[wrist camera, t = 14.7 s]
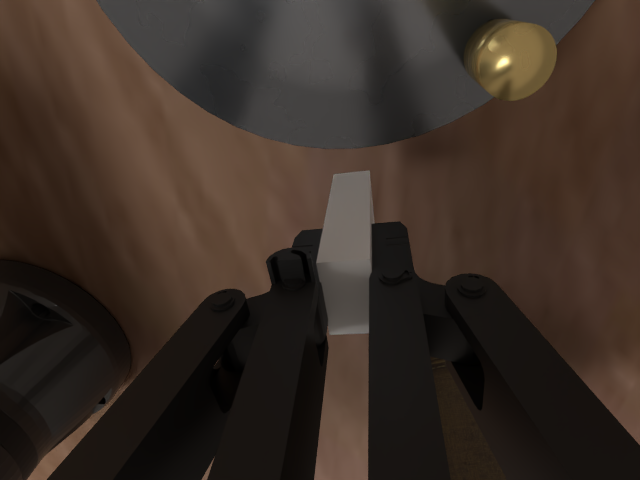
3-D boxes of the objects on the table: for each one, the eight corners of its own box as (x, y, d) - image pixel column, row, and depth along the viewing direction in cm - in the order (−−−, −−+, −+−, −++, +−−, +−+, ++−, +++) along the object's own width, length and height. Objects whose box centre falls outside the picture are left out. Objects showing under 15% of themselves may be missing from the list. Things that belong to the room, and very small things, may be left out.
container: (461, 271, 25) (590, 688, 10) (534, 354, 28) (719, 777, 13) (353, 333, 29) (327, 702, 14) (426, 400, 32) (470, 768, 17)
